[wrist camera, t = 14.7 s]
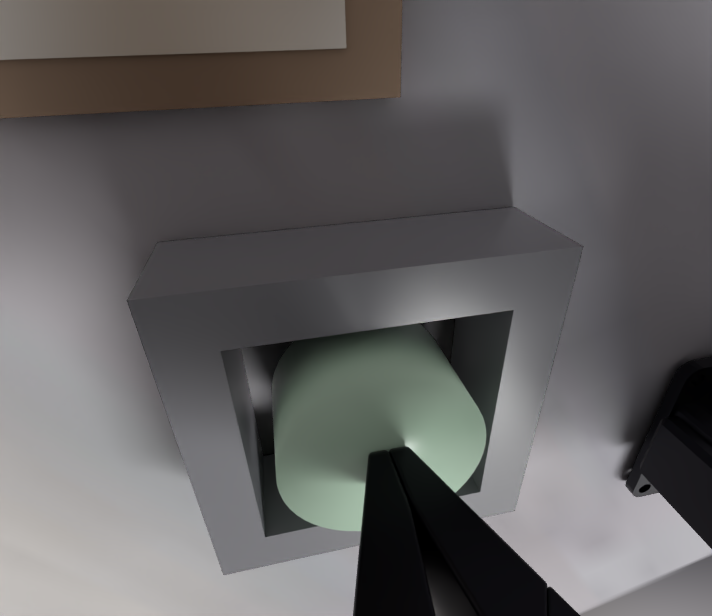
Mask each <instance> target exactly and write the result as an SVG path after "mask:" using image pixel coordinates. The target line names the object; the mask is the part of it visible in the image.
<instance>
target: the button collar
mask: <svg viewBox="0 0 712 616" xmlns="http://www.w3.org/2000/svg"><path fill="white" fill-rule="evenodd" d="M582 250H583V246H582V245H580V244H578V243H576V242H575V241H573V240H571V239H569V238H568V237H566V236H564V235H562V234H561V233H559V232H557V231H555V230H554V229H552V228H550V227H548V226H547V225H545V224H543V223H541V222H540V221H538V220H536V219H534V218H533V217H531V216H529V215H527V214H526V213H524V212H522V211H520V210H519V209H517V208H515V207H509V208H499V209H489V210H479V211H469V212H458V213H448V214H438V215H428V216H418V217H408V218H398V219H388V220H378V221H368V222H358V223H348V224H338V225H327V226H317V227H307V228H297V229H287V230H277V231H267V232H257V233H247V234H237V235H227V236H217V237H206V238H196V239H186V240H176V241H166V242H158V243H157V244H156V246H155V248H154V250H153V252H152V254H151V256H150V258H149V260H148V261H147V263H146V265H145V267H144V269H143V271H142V273H141V275H140V277H139V278H138V280H137V282H136V284H135V286H134V288H133V290H132V292H131V294H130V295H129V297H128V299H127V302H128V305H129V308H130V311H131V314H132V317H133V319H134V322H135V325H136V328H137V331H138V334H139V336H140V339H141V342H142V345H143V348H144V351H145V354H146V356H147V359H148V362H149V365H150V368H151V371H152V373H153V376H154V379H155V382H156V385H157V388H158V390H159V393H160V396H161V399H162V402H163V405H164V407H165V410H166V413H167V416H168V419H169V422H170V425H171V427H172V430H173V433H174V436H175V439H176V442H177V444H178V447H179V450H180V453H181V456H182V459H183V461H184V464H185V467H186V470H187V473H188V476H189V478H190V481H191V484H192V487H193V490H194V493H195V496H196V498H197V501H198V504H199V507H200V510H201V513H202V515H203V518H204V521H205V524H206V527H207V530H208V532H209V535H210V538H211V541H212V544H213V547H214V549H215V552H216V555H217V558H218V561H219V564H220V567H221V569H222V572H223V575H227V574H232V573H236V572H241V571H245V570H250V569H254V568H259V567H263V566H268V565H272V564H277V563H281V562H286V561H290V560H295V559H299V558H304V557H308V556H313V555H317V554H322V553H326V552H331V551H335V550H340V549H344V548H349V547H353V546H358V545H360V536H361V531H341V530H333V529H328V528H324V527H320V526H317V525H314V524H312V523H310V522H307V521H305V520H304V519H302V518H301V517H299V516H297V515H296V514H295V513H294V512H293V511H291V510H290V509H289V507H288V506H287V505H286V504H285V503H284V501H283V499H282V497H281V495H280V493H279V490H278V487H277V481H276V467H275V454H272V455H267V456H263V452H262V448H261V443H260V438H259V433H258V428H257V424H256V419H255V414H254V409H253V404H252V400H251V395H250V390H249V385H248V381H247V376H246V371H245V366H244V361H243V357H242V352H241V348H247V347H254V346H261V345H268V344H275V343H282V342H289V341H296V340H304V339H311V338H318V337H325V336H332V335H339V334H346V333H353V332H361V331H368V330H375V329H382V328H389V327H396V326H403V325H410V324H417V323H425V322H432V321H439V320H446V319H453V318H455V327H454V337H453V346H452V356H451V366H452V368H453V369H454V371H455V372H456V374H457V376H458V377H459V379H460V380H461V382H462V383H463V385H464V386H465V388H466V390H467V391H468V393H469V394H470V396H471V397H472V399H473V401H474V402H475V404H476V405H477V407H478V408H479V410H480V412H481V414H482V416H483V419H484V422H485V426H486V444H485V448H484V452H483V455H482V457H481V460H480V462H479V464H478V466H477V467H476V469H475V471H474V472H473V474H472V475H471V476H470V478H469V479H468V480H467V482H466V483H465V484H464V485H463V486H462V487H461V488H460V489H459V490H458V491H457V492H456V494H457V495H458V496H459V497H460V498H461V499H462V500H463V501H464V502H465V503H466V504H467V505H468V506H469V507H470V508H471V509H472V510H473V511H474V512H475V513H476V514H477V515H478V516H479V517H480V518H484V517H489V516H494V515H498V514H503V513H507V512H512V511H515V508H516V504H517V500H518V497H519V493H520V489H521V485H522V481H523V477H524V473H525V470H526V466H527V462H528V458H529V454H530V450H531V446H532V443H533V439H534V435H535V431H536V427H537V423H538V419H539V416H540V412H541V408H542V404H543V400H544V396H545V392H546V389H547V385H548V381H549V377H550V373H551V369H552V365H553V362H554V358H555V354H556V350H557V346H558V342H559V338H560V335H561V331H562V327H563V323H564V319H565V315H566V311H567V308H568V304H569V300H570V296H571V292H572V288H573V284H574V281H575V277H576V273H577V269H578V265H579V261H580V257H581V254H582Z"/></svg>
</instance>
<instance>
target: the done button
mask: <svg viewBox="0 0 712 616" xmlns="http://www.w3.org/2000/svg"><path fill="white" fill-rule="evenodd" d="M272 408H273V427H274V447H275V467H276V481H277V487H278V490H279V493H280V495H281V497H282V499H283V501H284V503H285V504H286V505H287V506H288V507H289V509H290V510H291V511H293V512H294V513H295V514H296V515H297V516H299V517H301V518H302V519H304V520H305V521H307V522H310V523H312V524H314V525H317V526H320V527H324V528H328V529H333V530H341V531H361V526H362V515H363V505H364V494H365V484H366V473H367V463H368V455H369V454H370V453H371V452H376V451H382V450H387V451H388V452H389V450H390V449H392V448H398V447H403V446H407V447H409V448H410V449H412V450H413V451H414V452H415V453H416V454H417V455H418V456H419V457H420V458H421V459H422V460H423V461H424V462H425V463H426V464H427V465H428V466H429V467H430V468H431V469H432V470H433V471H434V472H435V473H436V474H437V475H438V476H439V477H440V478H441V479H442V480H443V481H444V482H445V483H446V484H447V485H448V486H449V487H450V488H451V489H452V490H453V491H454V492H455V493H456V492H457V491H458V490H459V489H460V488H461V487H462V486H463V485H464V484H465V483H466V482H467V480H468V479H469V478H470V476H471V475H472V474H473V472H474V471H475V469H476V467H477V466H478V464H479V462H480V460H481V457H482V455H483V452H484V448H485V444H486V426H485V422H484V419H483V416H482V414H481V412H480V410H479V408H478V407H477V405H476V404H475V402H474V401H473V399H472V397H471V396H470V394H469V393H468V391H467V390H466V388H465V386H464V385H463V383H462V382H461V380H460V379H459V377H458V376H457V374H456V372H455V371H454V369H453V368H452V366H451V365H450V363H449V361H448V360H447V358H446V357H445V355H444V354H443V352H442V351H441V349H440V347H439V346H438V344H437V343H436V341H435V340H434V338H433V337H432V336H431V334H430V333H429V332H428V331H427V330H426V329H425V328H424V327H423V326H422V325H421V324H419V323H417V324H410V325H403V326H396V327H389V328H382V329H375V330H368V331H361V332H353V333H346V334H339V335H332V336H325V337H318V338H311V339H304V340H296V341H294V342H293V343H292V344H291V345H290V346H289V347H288V348H287V350H286V351H285V352H284V354H283V355H282V357H281V359H280V360H279V362H278V364H277V367H276V369H275V372H274V376H273V380H272Z"/></svg>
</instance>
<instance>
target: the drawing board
mask: <svg viewBox="0 0 712 616" xmlns="http://www.w3.org/2000/svg"><path fill="white" fill-rule="evenodd" d="M401 44H402V0H0V118H17V117H36V116H55V115H74V114H93V113H112V112H131V111H150V110H169V109H188V108H207V107H226V106H244V105H263V104H282V103H301V102H320V101H339V100H358V99H377V98H396V97H400V93H401Z"/></svg>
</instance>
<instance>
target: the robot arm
mask: <svg viewBox="0 0 712 616" xmlns="http://www.w3.org/2000/svg"><path fill="white" fill-rule="evenodd" d="M626 487H627V488H628V490H629V491H630V492H631V493H632V494H633V495H634V496H636V497H641V496H646V495H650V494H654V493H660V494H661V495H662V496H663V497H664V498H665V499H666V500H667V502H668V503H669V504H670V505H671V506H672V507H673V508H674V509H675V510H676V511H677V512H678V513H679V514H680V515H681V517H682V518H683V519H684V520H685V521H686V522H687V523H688V524H689V525H690V526H691V527H692V528H693V529H694V530H695V532H696V533H697V534H698V535H699V536H700V537H701V538H702V539H703V540H704V541H705V542H706V543H707V544H708V546H709V547H710V548H711V549H712V357H710V358H705V359H699V360H693V361H690V362H687V363H686V364H684V365H682V366H681V367H680V368H679V369H678V370H677V372H676V373H675V375H674V377H673V379H672V382H671V384H670V386H669V388H668V390H667V393H666V395H665V397H664V399H663V401H662V404H661V406H660V408H659V410H658V413H657V415H656V417H655V419H654V421H653V424H652V426H651V428H650V430H649V433H648V435H647V437H646V439H645V441H644V444H643V446H642V448H641V450H640V452H639V455H638V457H637V459H636V461H635V464H634V466H633V468H632V470H631V472H630V475H629V477H628V479H627V481H626ZM353 616H580V615H579V614H578V613H577V612H576V611H575V610H574V609H573V608H572V607H571V606H570V605H569V604H568V603H567V602H566V601H565V600H564V599H563V598H562V597H561V596H560V595H559V594H558V593H557V592H556V591H555V590H554V589H553V588H552V587H548V588H547V583H546V582H545V581H544V580H543V579H542V578H541V577H540V576H539V575H538V574H537V573H536V572H535V571H534V570H533V569H532V568H531V567H530V566H529V565H528V564H527V563H526V562H525V561H524V560H523V559H522V558H521V557H520V556H519V555H518V554H517V553H516V552H515V551H514V550H513V549H512V548H511V547H510V546H509V545H508V544H507V543H506V542H505V541H504V540H503V539H502V538H501V537H500V536H499V535H498V534H497V533H496V532H495V531H494V530H493V529H492V528H491V527H490V526H489V525H488V524H487V523H486V522H484V521H483V520H482V519H481V518H480V517H479V516H478V515H477V514H476V513H475V512H474V511H473V510H472V509H471V508H470V507H469V506H468V505H467V504H466V503H465V502H464V501H463V500H462V499H461V498H460V497H459V496H458V495H457V494H456V493H455V492H454V491H453V490H452V489H451V488H450V487H449V486H448V485H447V484H446V483H445V482H444V481H443V480H442V479H441V478H440V477H439V476H438V475H437V474H436V473H435V472H434V471H433V470H432V469H431V468H430V467H429V466H428V465H427V464H426V463H425V462H424V461H423V460H422V459H421V458H420V457H419V456H418V455H417V454H416V453H415V452H414V451H413V450H412V449H410V448H409V447H407V446H403V447H398V448H392V449H390V450H389V452H388V451H387V450H382V451H376V452H371V453H370V454H369V455H368V463H367V473H366V484H365V494H364V505H363V515H362V526H361V536H360V547H359V557H358V568H357V578H356V589H355V599H354V610H353Z"/></svg>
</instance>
